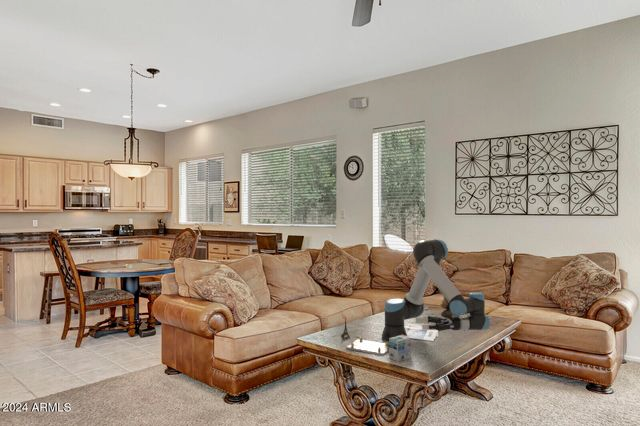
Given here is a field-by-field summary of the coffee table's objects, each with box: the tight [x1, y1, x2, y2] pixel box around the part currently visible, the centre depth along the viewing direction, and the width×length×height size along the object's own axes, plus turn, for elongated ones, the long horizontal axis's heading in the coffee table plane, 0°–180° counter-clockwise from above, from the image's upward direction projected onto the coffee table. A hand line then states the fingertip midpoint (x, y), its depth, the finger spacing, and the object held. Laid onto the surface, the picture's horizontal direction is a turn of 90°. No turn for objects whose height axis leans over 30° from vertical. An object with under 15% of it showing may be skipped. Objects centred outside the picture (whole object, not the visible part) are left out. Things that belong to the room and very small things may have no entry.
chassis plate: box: [345, 336, 389, 356], centre depth 246 cm, size 16×22×3 cm
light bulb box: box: [388, 335, 412, 362], centre depth 230 cm, size 11×7×11 cm, turn 126°
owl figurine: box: [440, 295, 459, 319], centre depth 315 cm, size 18×12×17 cm, turn 34°
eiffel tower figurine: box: [332, 317, 361, 340], centre depth 266 cm, size 15×10×13 cm
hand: (418, 323), depth 230 cm, fingers open, 13 cm apart
